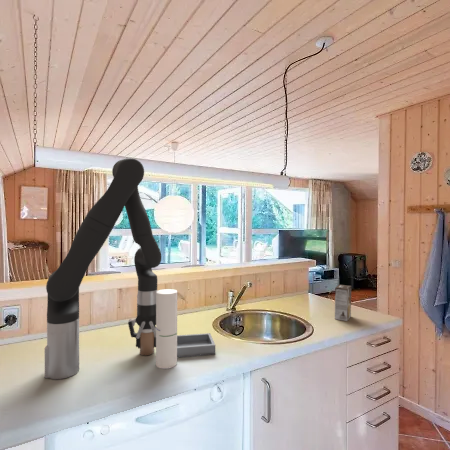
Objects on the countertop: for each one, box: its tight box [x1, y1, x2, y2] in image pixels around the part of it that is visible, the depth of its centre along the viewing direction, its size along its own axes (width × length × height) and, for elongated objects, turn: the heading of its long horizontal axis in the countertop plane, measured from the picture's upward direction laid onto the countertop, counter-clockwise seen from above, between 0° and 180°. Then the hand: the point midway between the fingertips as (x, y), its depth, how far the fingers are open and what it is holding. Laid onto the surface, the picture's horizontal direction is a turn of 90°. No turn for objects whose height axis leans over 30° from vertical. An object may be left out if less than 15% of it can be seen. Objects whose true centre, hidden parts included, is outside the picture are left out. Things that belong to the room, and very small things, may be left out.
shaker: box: [139, 329, 155, 356], centre depth 116 cm, size 5×5×9 cm
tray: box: [177, 332, 216, 359], centre depth 119 cm, size 15×12×4 cm
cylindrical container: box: [155, 288, 178, 369], centre depth 107 cm, size 7×7×25 cm
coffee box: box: [334, 284, 352, 322], centre depth 159 cm, size 9×6×16 cm
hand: (147, 346), depth 116 cm, fingers closed on shaker, 5 cm apart
